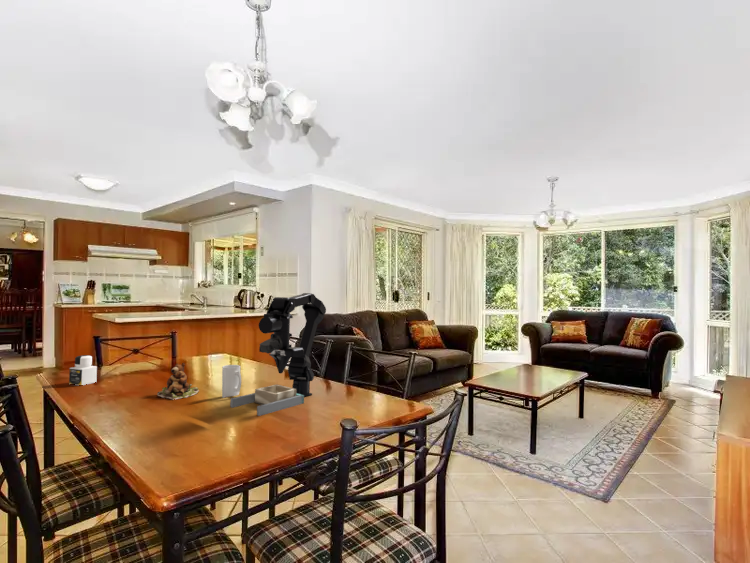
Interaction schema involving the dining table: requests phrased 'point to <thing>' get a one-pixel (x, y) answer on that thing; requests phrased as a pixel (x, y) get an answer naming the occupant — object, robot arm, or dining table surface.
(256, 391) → the crate
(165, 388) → the bear figurine
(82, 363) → the medicine bottle
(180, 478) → the dining table surface
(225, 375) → the mug
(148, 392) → the dining table surface
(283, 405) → the bay
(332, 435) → the dining table surface
